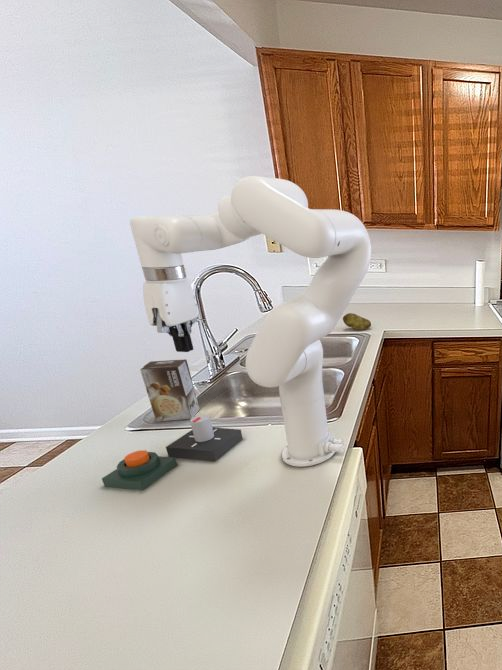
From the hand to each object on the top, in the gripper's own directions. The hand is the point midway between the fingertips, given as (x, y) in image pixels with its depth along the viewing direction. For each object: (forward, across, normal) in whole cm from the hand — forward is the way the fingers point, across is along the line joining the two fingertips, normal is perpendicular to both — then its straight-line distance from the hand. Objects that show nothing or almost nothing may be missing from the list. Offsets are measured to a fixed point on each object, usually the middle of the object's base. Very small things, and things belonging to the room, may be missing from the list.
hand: (185, 350), depth 96 cm
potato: (+20, -102, +3) cm, 104 cm away
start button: (+20, +17, -3) cm, 27 cm away
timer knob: (+21, +5, +4) cm, 22 cm away
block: (+24, +17, -3) cm, 29 cm away
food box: (+24, -10, -16) cm, 31 cm away
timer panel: (+24, +5, +4) cm, 25 cm away
